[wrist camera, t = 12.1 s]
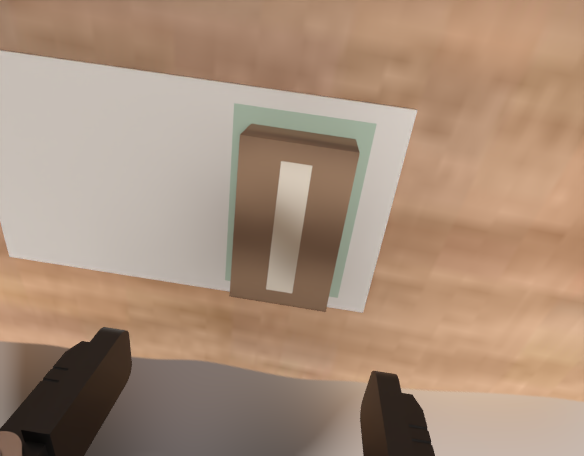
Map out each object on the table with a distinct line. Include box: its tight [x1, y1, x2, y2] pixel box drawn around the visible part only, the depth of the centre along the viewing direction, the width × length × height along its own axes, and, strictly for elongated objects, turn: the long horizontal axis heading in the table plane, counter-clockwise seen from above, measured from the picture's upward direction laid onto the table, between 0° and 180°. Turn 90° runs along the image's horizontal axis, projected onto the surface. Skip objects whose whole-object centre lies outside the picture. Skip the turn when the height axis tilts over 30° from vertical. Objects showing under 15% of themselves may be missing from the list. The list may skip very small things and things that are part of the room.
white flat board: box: [0, 50, 417, 313], centre depth 24 cm, size 26×14×1 cm, turn 83°
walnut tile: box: [230, 124, 360, 312], centre depth 22 cm, size 10×6×3 cm, turn 173°
